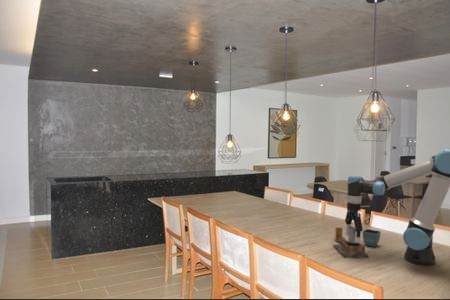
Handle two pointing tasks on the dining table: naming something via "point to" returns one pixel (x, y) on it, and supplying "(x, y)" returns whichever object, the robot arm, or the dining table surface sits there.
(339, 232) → the lock pin
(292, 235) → the dining table surface
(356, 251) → the dock
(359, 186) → the robot arm
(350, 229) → the grey metal cylinder
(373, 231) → the flower pot
